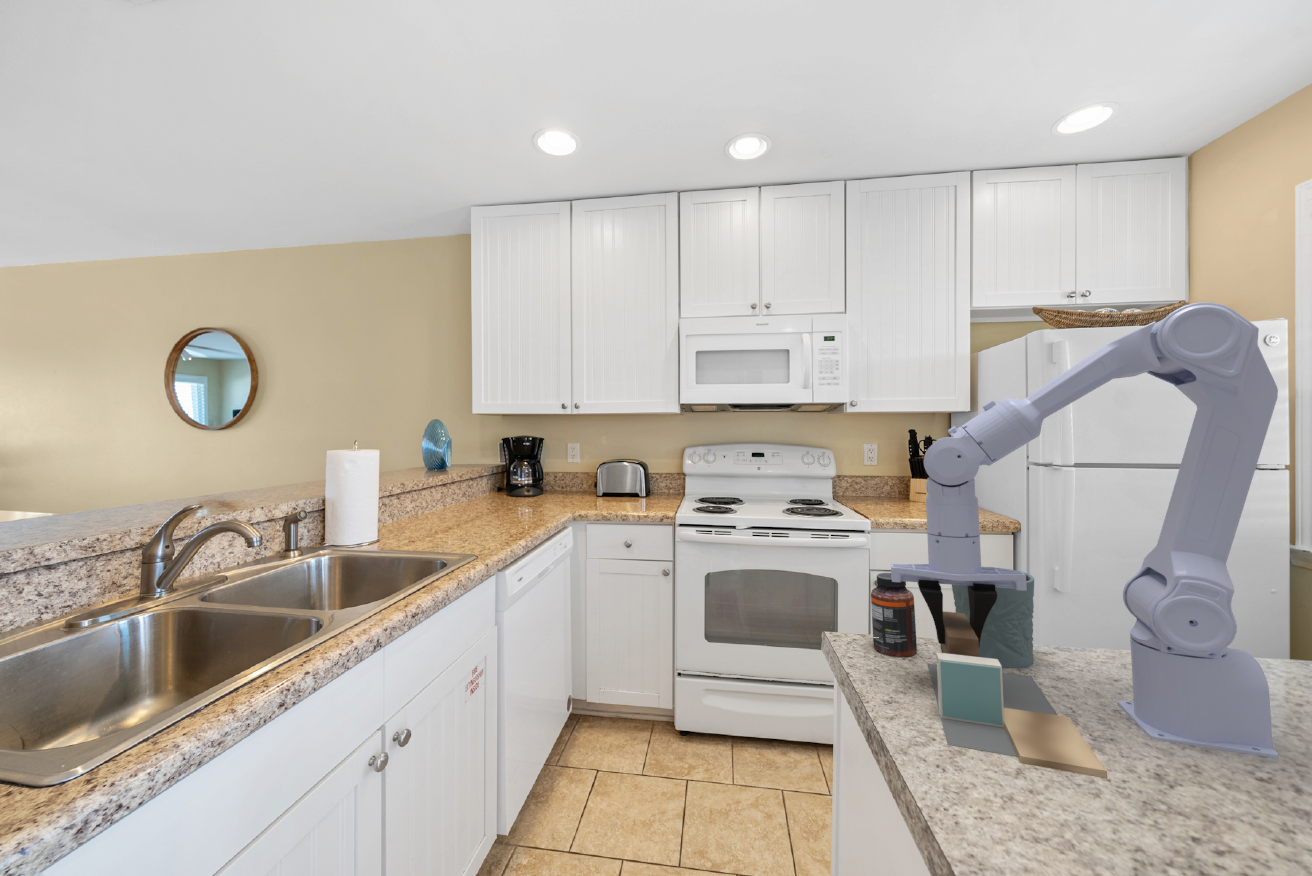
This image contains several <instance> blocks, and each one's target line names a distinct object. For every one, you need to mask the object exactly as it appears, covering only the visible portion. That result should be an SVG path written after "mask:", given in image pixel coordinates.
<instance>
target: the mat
mask: <svg viewBox="0 0 1312 876" xmlns="http://www.w3.org/2000/svg"><path fill="white" fill-rule="evenodd" d="M926 665H927V668H928V671H929V675H930V680H931V683H932V687H933V693H934V696H935V700H936V704H937V708H938V710H939V703H938V680H937V663H927V664H926ZM1002 682H1003V703H1004V708H1010V709H1017V710H1024V711H1031V712H1038V713H1045V714H1052V715H1059V714H1058V712H1057V711H1056V710H1055V708H1054V707H1053V705H1052V704H1051V703H1050V701H1049V700H1048V699H1047V697H1046V695H1045V694H1044V693H1043V691H1042V689H1041V688H1040V687H1039V685H1038V684H1037V682H1036V681H1035V679H1034V678H1033V676H1032V675H1028V674H1020V673H1019V674H1017V673H1011V672H1005V671H1004V672H1003V671H1002ZM938 712H939V711H938ZM939 714H940V712H939ZM939 716H940V715H939ZM940 720H941V725H942V729H943V733H944V736H945V740H946V745H947V746H952V747H957V748H964V749H970V750H974V751H975V750H976V751H981V752H986V753H993V754H999V755H1003V756H1010V757H1016V758H1018V755H1017V753H1016V751H1015V749H1014V747H1013V745H1012V742H1011V740H1010V738H1009V736H1008V734H1007V732H1006V730H1005V728H1003V727H997V726H990V725H984V724H977V723H971V722H965V721H958V720H952V719H945V718H941V716H940Z"/></svg>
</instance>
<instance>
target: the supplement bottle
mask: <svg viewBox="0 0 1312 876" xmlns="http://www.w3.org/2000/svg"><path fill="white" fill-rule="evenodd" d="M876 584H877V586H876V587H874V588H873V589H872V590H871V593H870V603H871V606H870V607H871V622H872V623H871V625H872V627H871V628H872V642H873V643H872V644H873V648H874V650H875V651H876V652H878V653H880V654H883V655H884V656H885V655H886V656H890V657H895V658H908V657H909V658H910V657H913V656H914V655H916V653H917V652H918V651H917V647H918V646H917V645H918V644H917V630H916V629H917V628H916V613H915V612H916V611H915V610H916V609H915V598H914V594H913V593H912V591H911V590H909V589H908V588H907V587H906V586H907V582H906V581H901V582H892V578H891V572H881V573H877V574H876ZM873 637H879V638H873Z"/></svg>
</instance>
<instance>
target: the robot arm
mask: <svg viewBox="0 0 1312 876" xmlns="http://www.w3.org/2000/svg"><path fill="white" fill-rule="evenodd" d="M1145 373H1146V374H1149V375H1150V376H1152V377H1155V378H1158V379H1160V380H1161V381H1164V382H1166V383H1169V384H1171V385H1173V386H1174V387H1175V388H1177V390H1179V391H1180V392H1181V393H1182V394H1183V395H1185V396H1186V398H1187V399H1189V400H1190V401H1191V402H1192V403H1194V404H1195V406H1196V411H1195V414H1194V419H1193V421H1192V426H1191V428H1190V431H1189V435H1188V438H1187V442H1186V445H1185V448H1184V452H1183V456H1182V458H1181V463H1180V466H1179V469H1178V473H1177V475H1176V476H1177V477H1176V480H1175V483H1174V486H1173V489H1172V492H1171V496H1170V498H1169V499H1170V500H1169V503H1168V506H1167V510H1166V513H1165V515H1164V521H1163V523H1162V527H1161V530H1160V534H1159V537H1158V541H1157V544H1156V546H1155V547H1154V548H1153V549H1152V550H1151V551H1150V552H1149V553H1148V554H1147V555H1146V556H1145V557H1144V559H1143V561H1142V564H1141V568H1140V569H1139V571H1138V572H1136V574H1135V575H1134V576H1133V577H1131V578H1130V579H1129V580H1128V581H1127V582H1126V584H1125V585H1124V587H1123V590H1122V601H1123V603H1124V606H1125V607H1126V609H1127V610H1128V612H1129V613H1130V614H1131V615H1132V616H1133V617H1134V618H1136V620H1135V623H1134V625H1133V626H1132V627H1131V629H1130V631H1129V636H1130V638H1129V639H1130V640H1129V642H1130V654H1131V655H1130V658H1131V659H1130V660H1131V677H1132V678H1131V679H1132V696H1133V698H1132V699H1133V701H1129V700H1127V701H1126V700H1118V701H1117V705H1118V706H1119V708H1121V710H1122V711H1124V713H1125V714H1126V715H1127V716H1128V717H1129V718H1130V719H1131V721H1133V722H1134V724H1136V725H1137V727H1138V728H1139V729H1141V731H1142V732H1143V733H1144V734H1145V735H1146V736H1147V737H1148V738H1149V739H1151V740H1154V741H1158V742H1165V743H1166V742H1167V743H1172V744H1180V745H1185V746H1193V747H1199V748H1206V749H1213V750H1219V751H1220V750H1221V751H1225V752H1226V751H1227V752H1233V753H1240V754H1247V755H1252V756H1253V755H1254V756H1258V757H1259V756H1260V757H1265V758H1266V757H1268V758H1272V759H1278V758H1279V755H1280V754H1279V752H1277V751H1276V750H1275V749H1274V748H1273V747H1274V746H1273V731H1272V730H1273V729H1272V715H1271V699H1270V698H1271V697H1270V696H1271V695H1270V688H1269V684H1268V680H1267V677H1266V675H1265V672H1264V670H1263V668H1262V666H1261V665H1260V663H1259V662H1258V660H1257V659H1256V657H1254V656H1253V655H1251V654H1250V653H1249V652H1248V651H1246V650H1245V651H1244V650H1242V649H1237V648H1229V646H1230V644H1232V643H1233V641H1234V640H1235V638H1236V635H1237V632H1238V631H1237V629H1238V627H1237V620H1236V619H1235V615H1234V613H1233V610H1232V609H1233V608H1232V601H1233V596H1234V593H1235V588H1234V584H1233V581H1232V579H1231V576H1230V573H1229V570H1228V567H1227V563H1228V559H1229V555H1230V552H1231V550H1232V549H1231V548H1232V546H1233V543H1234V539H1235V536H1236V533H1237V530H1238V526H1239V524H1240V519H1241V517H1242V514H1243V511H1244V508H1245V504H1246V500H1247V497H1248V494H1249V491H1250V488H1251V485H1252V483H1253V482H1252V481H1253V478H1254V475H1255V471H1256V469H1257V468H1256V467H1257V466H1258V463H1259V459H1260V455H1261V452H1262V449H1263V446H1264V443H1265V439H1266V436H1267V434H1268V433H1267V432H1268V429H1269V426H1270V423H1271V420H1272V416H1273V413H1274V410H1275V408H1276V407H1275V406H1276V404H1277V401H1278V397H1279V396H1278V395H1279V389H1278V386H1277V384H1276V381H1275V379H1274V377H1273V375H1272V372H1271V371H1270V369H1269V366H1268V364H1267V362H1266V360H1265V358H1264V356H1263V353H1262V351H1261V349H1260V346H1259V327H1258V326H1257V325H1255V324H1254V323H1253V322H1251V321H1250V320H1249V319H1247V318H1246V317H1244V316H1243V315H1241V314H1240V313H1238V312H1237V311H1236V310H1235V309H1233V308H1230V307H1228V306H1227V305H1224V304H1221V303H1218V302H1210V301H1209V302H1204V301H1203V302H1202V301H1201V302H1195V303H1189V304H1186V305H1184V306H1181V307H1179V308H1177V309H1174V311H1171V312H1170V313H1169V314H1168V315H1167V316H1165V318H1163V319H1161V320H1159V321H1157V322H1156V321H1152V322H1151V323H1148V324H1146V325H1144V326H1142V327H1140V328H1138V329H1136V330H1134V331H1132V332H1129V333H1127V334H1125V335H1123V336H1121V337H1119V338H1117V339H1114V340H1113V341H1111V342H1109V343H1106V344H1105V345H1103V347H1100V348H1099V349H1097V350H1096V351H1094V352H1092V353H1091V354H1089V355H1088V356H1087V357H1085V358H1084V359H1082V360H1080V362H1078V363H1076V364H1075V365H1073V366H1072V367H1070V368H1068V369H1067V370H1066V371H1063V373H1061V374H1060V375H1058V376H1057V377H1056V378H1054V379H1052V380H1051V381H1049V382H1048V383H1047V384H1045V385H1043V386H1042V387H1040V388H1039V389H1037V390H1036V391H1035V392H1032V394H1030V395H1029V396H1027V397H1026V398H1023V399H1020V398H1011V397H1003V398H1002V399H1000V400H999V401H998V402H996V401H995V400H993V399H992V400H990V401H989V402H987V403H985V404H984V405H983V406H982V409H983V410H984V411H982V412H980V413H979V414H977V415H976V416H974V417H972V419H971V418H970V420H968V421H967V422H965V423H964V424H962V425H961V426H959V427H958V428H957V427H956V425H953V426H952V427H951V428H949V429H948V430H947V433H948V434H949V435H950V436H948V437H942V438H938V439H937V440H935V442H934V443H933V444H931V445H930V446H929V447H928V448H927V450H926V451H925V454H924V457H923V467H924V469H925V472H926V474H927V475H928V477H927V480H926V483H925V490H926V493H927V495H926V497H925V509H926V529H927V530H926V532H927V533H926V534H927V554H928V563H920V564H919V563H912V564H909V563H908V564H905V563H904V564H902V563H901V564H900V563H891V564H890V571H891V572H890V573H891V578H892V582H901V581H906V583H909V582H910V583H917V586H918V589H919V591H920V593H921V596H922V597H923V599H924V602H925V603H926V605H927V607H928V610H929V613H930V614H931V617H932V619H933V623H934V626H935V632H936V639H937V641H938V644H945V631H944V623H943V612H944V609H943V608H944V607H943V606H944V605H943V604H944V598H943V597H944V594H943V592H942V585H951V586H952V585H967V587H968V596H969V608H970V625H971V626H972V628H973V630H974V632H975V634H976V636H977V638H978V641H979V647H980V638H981V634H982V630H983V627H984V624H985V621H986V619H987V616H988V614H989V612H990V611H991V609H992V607H993V605H994V604H995V602H996V600H997V596H998V595H997V592H996V590H995V587H997V588H1013V589H1016V590H1021V591H1027V586H1026V575H1025V574H1024V573H1025V572H1024V571H1022V570H1016V571H1013V570H1014V569H1011V570H1002V569H994V568H985V567H986V566H982V556H981V537H980V536H981V535H980V517H979V514H980V512H979V500H978V497H977V496H976V486H975V485H976V483H975V482H976V480H975V477H976V476H977V475H978V472H979V469H980V466H988V467H989V466H992V465H993V464H995V463H996V462H998V461H1000V460H1002V459H1003V458H1005V457H1007V456H1008V455H1009V454H1012V453H1013V452H1015V451H1016V450H1018V449H1019V448H1022V447H1024V445H1026V444H1028V443H1029V442H1031V441H1034V440H1035V439H1036V438H1037V439H1038V437H1040V435H1041V431H1042V424H1043V423H1044V420H1045V419H1047V418H1048V417H1049V416H1051V415H1053V414H1054V413H1057V412H1058V411H1060V410H1061V409H1064V408H1065V407H1066V406H1069V405H1070V404H1072V403H1074V402H1076V401H1077V400H1079V399H1080V398H1082V397H1084V396H1086V395H1088V394H1090V393H1091V392H1093V391H1094V390H1096V389H1098V388H1100V387H1101V386H1103V385H1106V384H1107V383H1108V382H1110V381H1112V380H1116V379H1123V378H1131V377H1137V376H1139V375H1142V374H1145ZM1023 572H1024V573H1023Z"/></svg>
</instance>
